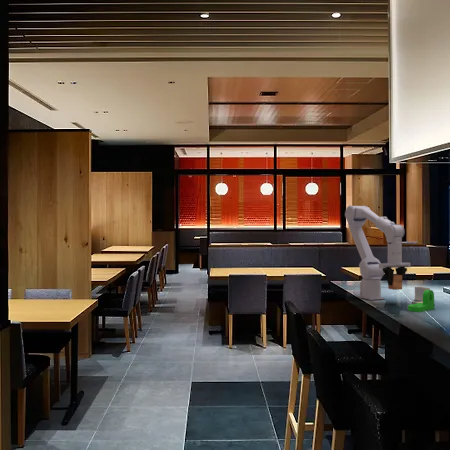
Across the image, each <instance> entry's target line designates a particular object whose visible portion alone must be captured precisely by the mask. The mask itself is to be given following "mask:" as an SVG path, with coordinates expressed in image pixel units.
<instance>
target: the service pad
mask: <svg viewBox="0 0 450 450" xmlns="http://www.w3.org/2000/svg"><path fill="white" fill-rule="evenodd" d="M416 303H423V301H419V302H417V301H412V302H411V304H416ZM434 307H436V305H435V303H434Z"/></svg>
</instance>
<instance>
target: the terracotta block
mask: <svg viewBox="0 0 450 450" xmlns="http://www.w3.org/2000/svg"><path fill="white" fill-rule="evenodd" d="M387 286H388V287H387V288H388V289H390V290H393V291H396V290H397V291H398V290H403V281H402V275H397V274H396V273H393V284H392V285H388V284H387Z"/></svg>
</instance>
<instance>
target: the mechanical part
mask: <svg viewBox="0 0 450 450" xmlns="http://www.w3.org/2000/svg"><path fill="white" fill-rule="evenodd" d="M434 304H435V292H434V290H432V289H430V290H425V291H424V293H423V303H416V304H412V303H411V304H408V305H407V310H408V311H409V312H414V313H422V312H426V311H430V310H434V309H435V306H434Z"/></svg>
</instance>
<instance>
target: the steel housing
mask: <svg viewBox="0 0 450 450" xmlns="http://www.w3.org/2000/svg"><path fill="white" fill-rule="evenodd" d="M425 290H431V288H430V287H425V286H414V299H413V302H419V301H423V293H424V291H425Z"/></svg>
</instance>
